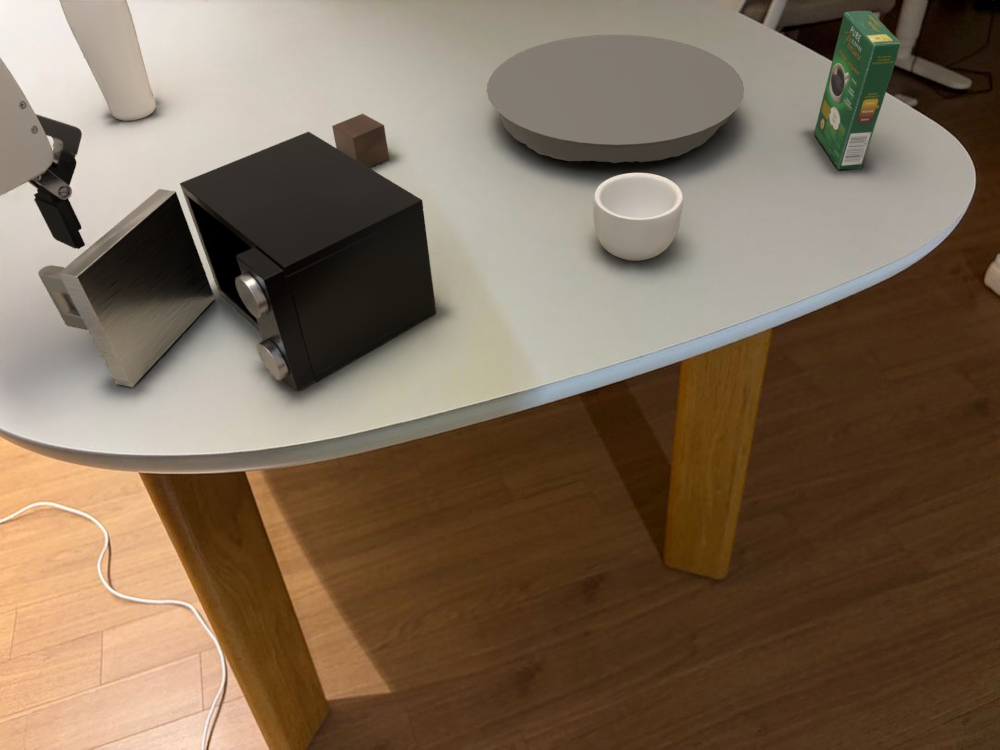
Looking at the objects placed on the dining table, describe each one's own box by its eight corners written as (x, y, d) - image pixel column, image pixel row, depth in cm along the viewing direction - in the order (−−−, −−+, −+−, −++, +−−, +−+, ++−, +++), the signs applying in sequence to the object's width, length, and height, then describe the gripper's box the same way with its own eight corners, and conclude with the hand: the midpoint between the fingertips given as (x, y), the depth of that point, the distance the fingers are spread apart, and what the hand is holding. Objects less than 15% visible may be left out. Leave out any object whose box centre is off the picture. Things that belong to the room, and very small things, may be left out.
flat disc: (514, 65, 104) (513, 30, 101) (736, 75, 99) (742, 39, 96) (463, 175, 84) (460, 135, 81) (737, 194, 79) (745, 153, 76)
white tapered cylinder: (170, 114, 98) (126, -16, 87) (114, 130, 95) (61, -2, 85) (154, 95, 102) (109, -31, 92) (100, 111, 99) (48, -18, 89)
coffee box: (865, 170, 81) (904, 40, 72) (837, 172, 81) (872, 42, 72) (838, 133, 87) (871, 8, 78) (812, 134, 87) (842, 10, 78)
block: (359, 172, 85) (353, 138, 83) (338, 160, 88) (331, 125, 85) (389, 159, 87) (384, 124, 85) (368, 147, 90) (362, 113, 87)
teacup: (654, 281, 69) (660, 229, 66) (576, 256, 73) (577, 205, 69) (698, 225, 75) (706, 174, 72) (624, 204, 79) (628, 154, 75)
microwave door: (56, 370, 64) (-7, 260, 57) (145, 285, 72) (99, 179, 65) (132, 387, 62) (76, 276, 55) (215, 298, 70) (176, 191, 63)
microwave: (289, 398, 61) (252, 282, 53) (193, 305, 70) (150, 194, 62) (436, 313, 68) (422, 199, 60) (332, 238, 77) (308, 131, 69)
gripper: (-9, -24, 55) (93, 201, 68) (-293, 69, 45) (-112, 315, 57) (57, -7, 52) (151, 226, 64) (-232, 97, 42) (-55, 350, 54)
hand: (26, 266), depth 61 cm, fingers open, 7 cm apart
